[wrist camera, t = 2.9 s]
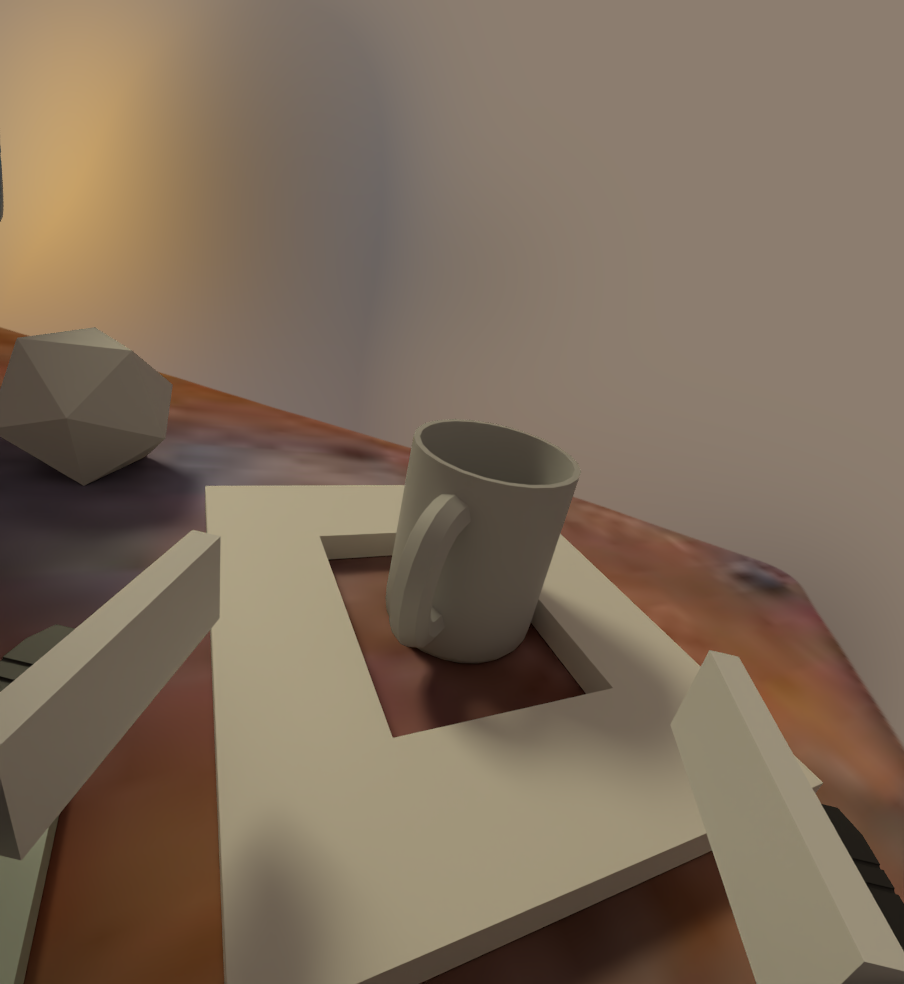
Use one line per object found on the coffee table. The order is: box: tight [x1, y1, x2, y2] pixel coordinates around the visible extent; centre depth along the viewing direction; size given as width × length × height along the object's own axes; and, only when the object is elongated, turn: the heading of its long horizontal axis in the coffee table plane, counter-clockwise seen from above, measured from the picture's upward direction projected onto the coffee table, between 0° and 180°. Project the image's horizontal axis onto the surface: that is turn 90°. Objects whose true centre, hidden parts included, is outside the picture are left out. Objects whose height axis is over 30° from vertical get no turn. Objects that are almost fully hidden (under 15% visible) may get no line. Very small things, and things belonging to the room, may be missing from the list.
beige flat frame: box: [205, 485, 823, 984], centre depth 25 cm, size 24×20×2 cm
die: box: [0, 328, 172, 486], centre depth 31 cm, size 8×9×10 cm
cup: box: [386, 419, 581, 663], centre depth 23 cm, size 7×10×9 cm
